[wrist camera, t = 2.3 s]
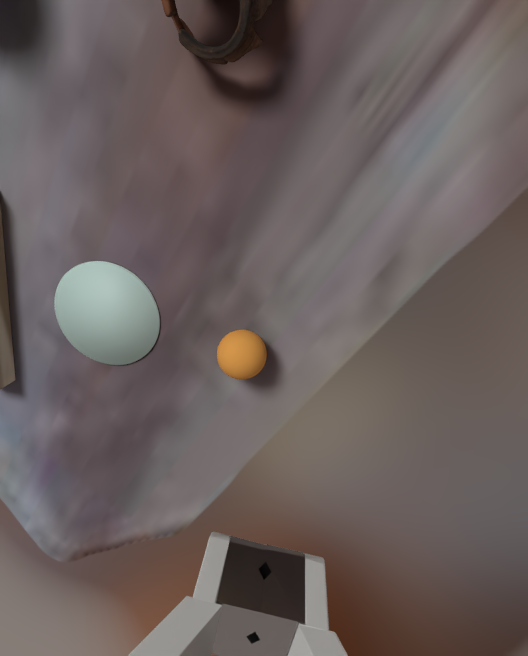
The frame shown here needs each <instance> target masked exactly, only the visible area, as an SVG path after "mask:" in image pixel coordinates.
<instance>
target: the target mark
mask: <svg viewBox="0 0 528 656" xmlns="http://www.w3.org/2000/svg"><path fill="white" fill-rule="evenodd" d="M54 305H55V313H56V317H57V321H58V323H59V326H60V328H61V330H62V332H63V333H64V335H65V336H66V338H67V339H68V340H69V342H70V343H71V344H72V345H73V346H74V347H75V348H76V349H77V350H78V351H80V352H81V353H82V354H84V355H85V356H87V357H89V358H91V359H93V360H95V361H98V362H100V363H104V364H109V365H125V364H130V363H133V362H135V361H137V360H139V359H141V358H142V357H144V356H145V355H146V354H147V353H148V352H149V351H150V350H151V349H152V347H153V346H154V344H155V342H156V340H157V338H158V334H159V329H160V316H159V311H158V307H157V304H156V301H155V299H154V297H153V295H152V293H151V292H150V290H149V289H148V287H147V286H146V285H145V284H144V283H143V282H142V280H140V279H139V278H138V277H137V276H136V275H135V274H133V273H132V272H131V271H129V270H127V269H126V268H124V267H122V266H119V265H117V264H114V263H110V262H104V261H92V262H86V263H83V264H80V265H78V266H75V267H74V268H72V269H71V270H69V271H68V272H67V273H66V274H65V275H64V276H63V278H62V279H61V281H60V283H59V285H58V287H57V290H56V294H55V304H54Z"/></svg>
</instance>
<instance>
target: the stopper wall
mask: <svg viewBox="0 0 528 656" xmlns="http://www.w3.org/2000/svg"><path fill="white" fill-rule="evenodd" d="M13 381H15V368H14V356H13V345H12V333H11V321H10V309H9V298H8V286H7V274H6V263H5V251H4V239H3V227H2V216H1V204H0V389H2V388H3V387H5V386H7V385H8V384H10V383H11V382H13Z"/></svg>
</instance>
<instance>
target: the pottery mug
mask: <svg viewBox="0 0 528 656" xmlns="http://www.w3.org/2000/svg"><path fill="white" fill-rule="evenodd" d="M272 1H273V0H240V15H239V21H238V26H237V28H236V30H235V33H234V34H233V35H232V37H231V39H230V40H229V41H228V42H227V43H225V44H223V45H221V46H217V47H210V46H206V45H203V44H201V43H199V42H198V41H197V40H196V39H194V38H193V34H192V32H191V31H190V30H189V28H188V27H187V25H186V24H185V22H184V21H183V20H182V19H180V18H179V16H178V13H177V8H176V5H175V0H162V4H163V8H164V12H165V14H166V16H167V17H172V19H173V21H174V24H175V26H176V28H177V30H178V32H179V41H180V43H181V44H182V45H183V46H184V47H185V48H186V49H187V50H189V51H190V52H192V53H193V54H195V55H196V56H198V57H200V58H203V59H205V60H207V61H209V62H212V63H216V64H227V63H228V61H229V62H235V61H237V60H238V59H240V58H241V57H242V56H244V55H245V54H246V53H247V52H249V51H251V50H252V49H254V48H256V47H258V46H259V45H261V44H262V40H261V39H260V38H259V37H258V35H257V33H256V31H255V29H254V27H253V25H252V24H253V22H255V21H258V20H260V18H261V17H263V15H264V13H265V11H266V9H267V7H269V6H270V5H271V3H272Z"/></svg>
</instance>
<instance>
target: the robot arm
mask: <svg viewBox="0 0 528 656" xmlns="http://www.w3.org/2000/svg"><path fill="white" fill-rule="evenodd" d="M229 541H230V542H229ZM326 589H327V588H326V573H325V561H324V559H323V558H322V557H318V556H314V555H309V554H303V552H299V551H294V550H290V549H285V548H280V547H276V546H271V545H263V544H259V543H256V542H251V541H248V540H244V539H240V538H237V537H233V536H231V538H230V536H229V535H225V534H221V533H217V532H212V533H211V535H210V537H209V541H208V544H207V548H206V552H205V555H204V559H203V562H202V566H201V569H200V573H199V576H198V580H197V584H196V587H195V591H194V594H193V597H188V596H186V597H185V599H183V601H181V603H180V604H179V605H178V606H177V607H175V608H174V609H173V611H172V612H171V613H170V614H169V615H168V616H167V617H166V618H165V619H164V620H163V621H162V622H161V623H160V624H159V625H158V626H157V627H156V628H155V629H154V630H153V631H152V632H151V633H150V634H149V635H148V636H147V637H146V638H145V639H144V640H143V641H142V642H141V643H140V644H139V645H138V646H137V647H136V648H135V649H134V650H133V651H132V652H131V653H130V654H129V655H128V656H211V655H212V654H215V655H220V656H348V655H347V653H346V651H345V649H344V647H343V646H342V644H341V642H340V640H339V638H338V636H337V635H336V633H335V632H333V631H329V620H328V605H327V590H326Z"/></svg>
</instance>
